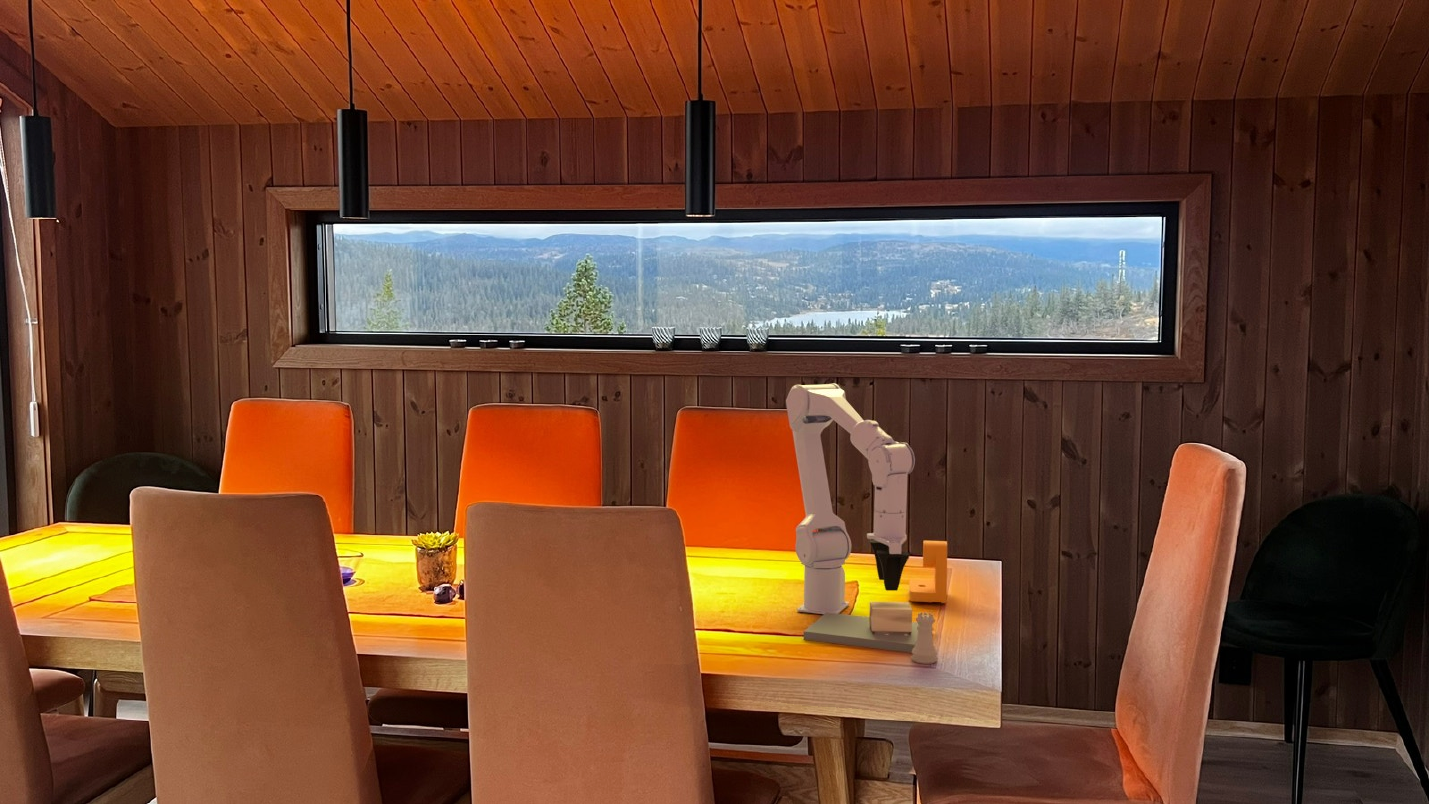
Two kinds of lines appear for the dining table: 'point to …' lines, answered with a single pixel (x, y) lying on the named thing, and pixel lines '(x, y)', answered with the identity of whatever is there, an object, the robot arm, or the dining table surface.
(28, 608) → the dining table surface
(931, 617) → the rook chess piece
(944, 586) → the bracket
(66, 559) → the dining table surface
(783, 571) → the dining table surface
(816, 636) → the board
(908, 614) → the block
